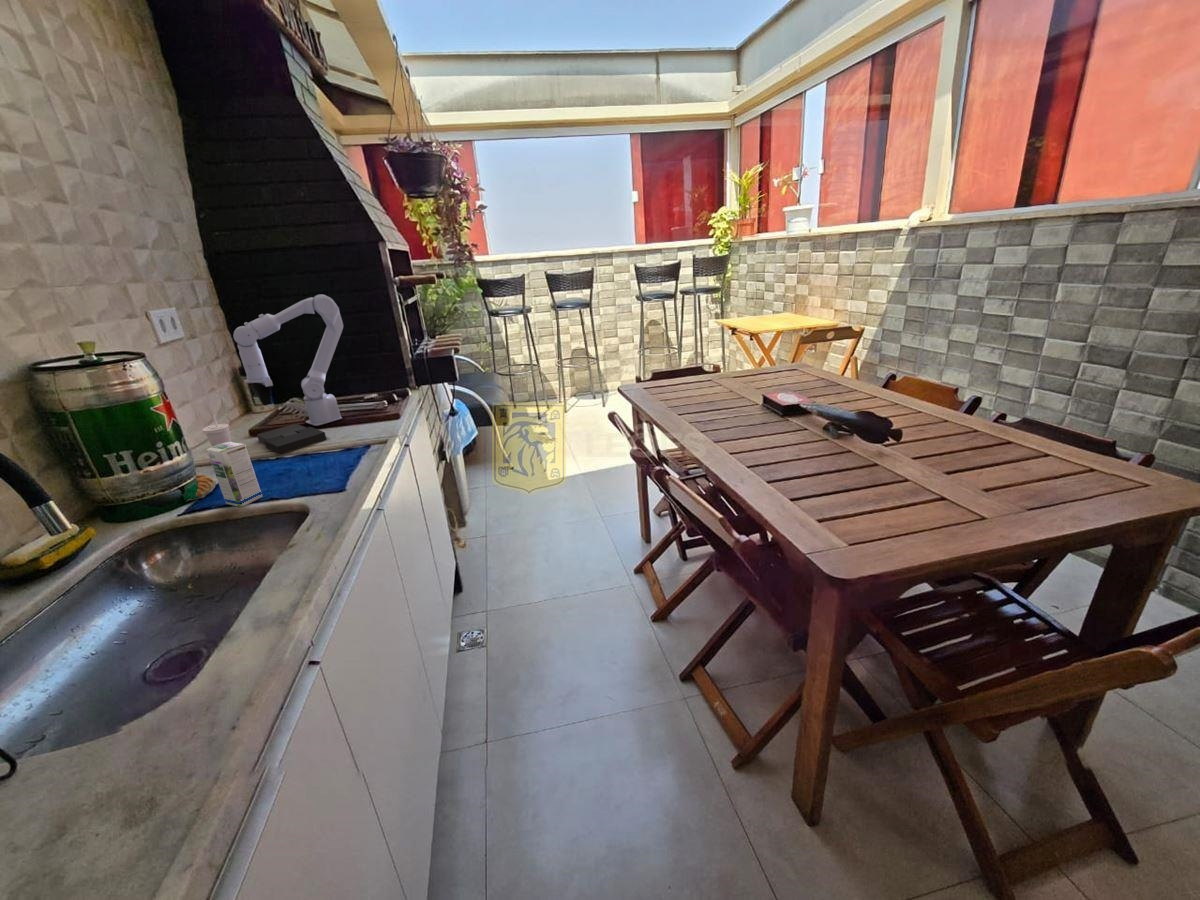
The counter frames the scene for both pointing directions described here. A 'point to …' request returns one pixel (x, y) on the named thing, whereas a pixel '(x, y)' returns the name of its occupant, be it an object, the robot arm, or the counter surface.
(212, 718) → the counter surface
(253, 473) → the syrup box
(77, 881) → the counter surface
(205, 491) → the pastry
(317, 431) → the base pad
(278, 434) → the loose pad
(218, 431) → the smoothie
